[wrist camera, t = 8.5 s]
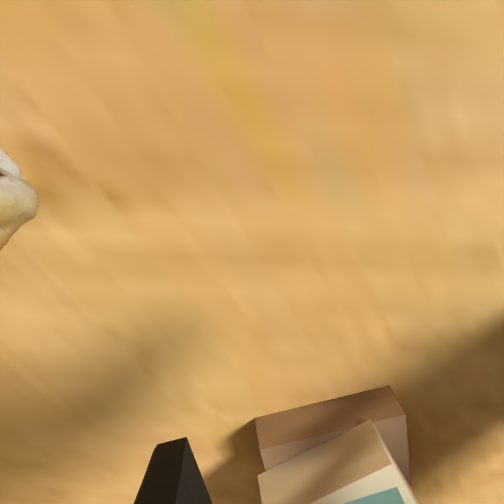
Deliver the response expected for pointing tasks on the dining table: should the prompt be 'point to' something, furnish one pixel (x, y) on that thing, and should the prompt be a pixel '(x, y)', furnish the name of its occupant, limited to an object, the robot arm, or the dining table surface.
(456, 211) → the dining table surface
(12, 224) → the pastry
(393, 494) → the teal block
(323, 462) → the tower top
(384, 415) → the tower base
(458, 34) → the dining table surface
